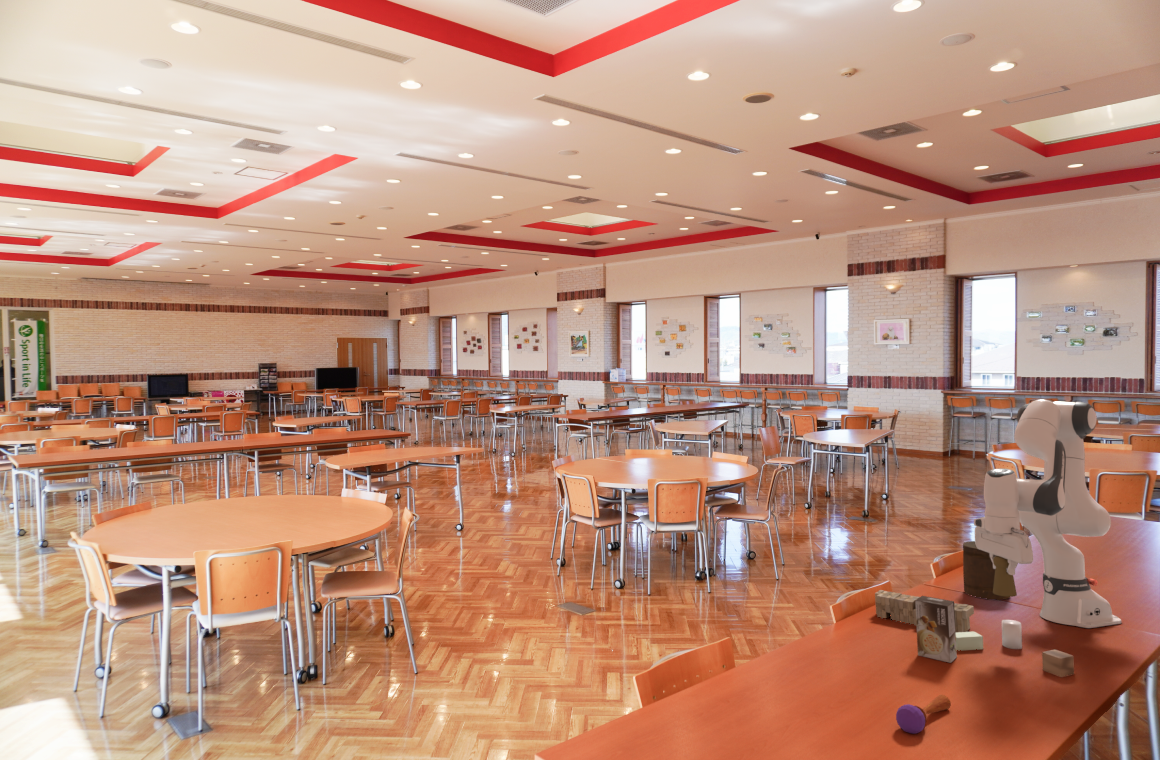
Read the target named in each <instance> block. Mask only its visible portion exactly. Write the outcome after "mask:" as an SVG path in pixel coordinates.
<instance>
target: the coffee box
mask: <svg viewBox="0 0 1160 760" xmlns="http://www.w3.org/2000/svg"><path fill="white" fill-rule="evenodd" d="M918 597H919V598H918V599H917V600H916V601H915V604H916V625H915V626H916V643H917V655H918V656H919V657H923V658H928V659H932V660H936V661H941V662H945V663H946V662H947V663H949V664H950V663H951V664H952V662H954V661H955V660H956V658H957V657H958V655H957V650H956V632H955V610H954V603H955V601H954V600H947V599H945V598H944V599H943V598H939V597H934V596H933V597H932V596H926V595H921V596H918Z"/></svg>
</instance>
